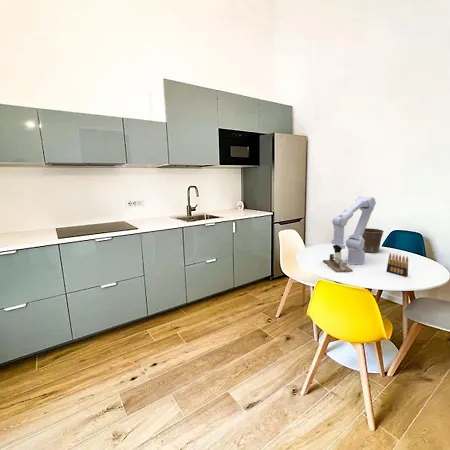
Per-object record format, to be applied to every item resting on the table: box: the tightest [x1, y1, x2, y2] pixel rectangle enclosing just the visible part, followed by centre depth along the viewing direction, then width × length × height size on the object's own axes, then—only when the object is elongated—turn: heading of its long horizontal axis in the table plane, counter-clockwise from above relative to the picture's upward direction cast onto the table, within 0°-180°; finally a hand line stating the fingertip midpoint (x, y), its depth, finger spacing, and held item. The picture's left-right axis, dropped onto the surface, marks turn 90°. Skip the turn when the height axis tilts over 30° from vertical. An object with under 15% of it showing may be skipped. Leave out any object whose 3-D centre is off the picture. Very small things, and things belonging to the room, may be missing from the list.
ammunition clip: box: [385, 252, 409, 278], centre depth 150 cm, size 11×2×12 cm, turn 33°
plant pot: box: [362, 227, 384, 254], centre depth 195 cm, size 16×16×16 cm
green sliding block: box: [334, 251, 344, 264], centre depth 163 cm, size 4×4×6 cm
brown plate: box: [322, 253, 354, 273], centre depth 166 cm, size 10×20×6 cm, turn 2°
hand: (337, 256), depth 165 cm, fingers closed, pressing on green sliding block
